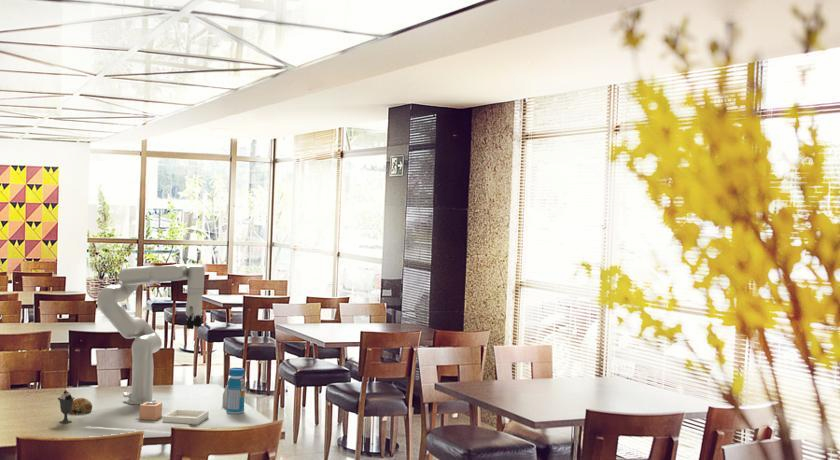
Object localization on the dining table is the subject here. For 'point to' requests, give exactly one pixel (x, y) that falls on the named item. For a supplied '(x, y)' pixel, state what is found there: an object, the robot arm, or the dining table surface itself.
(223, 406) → the grey faceted block
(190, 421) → the tray
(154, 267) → the robot arm
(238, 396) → the beverage bottle
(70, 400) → the sundae
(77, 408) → the bread roll
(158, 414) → the collar
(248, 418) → the dining table surface
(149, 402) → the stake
